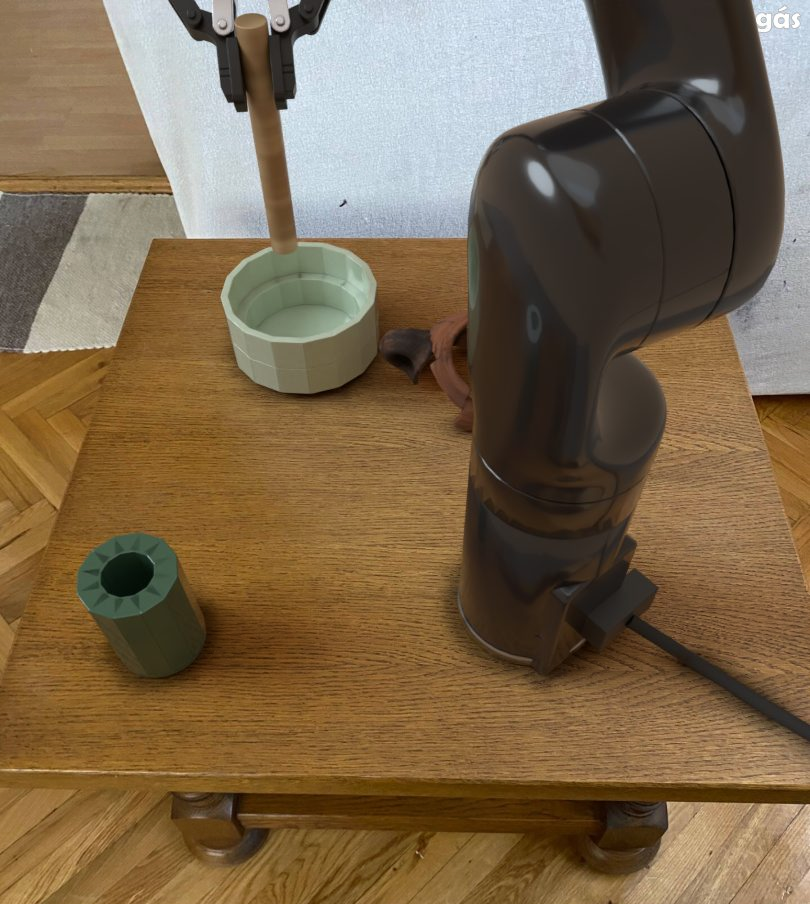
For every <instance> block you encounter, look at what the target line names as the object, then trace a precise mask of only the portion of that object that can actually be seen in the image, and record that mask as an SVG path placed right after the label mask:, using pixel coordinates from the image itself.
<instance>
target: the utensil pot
mask: <svg viewBox="0 0 810 904" xmlns="http://www.w3.org/2000/svg"><path fill="white" fill-rule="evenodd" d="M76 596H77V597H78V599H79V601H80V602H81V603H82V605H83V606H84V608H85V609H86V611H87V613H88V614H89V615H90V617H91V618H92V620H93V621H94V623H95V624H96V627H98V629H99V630H100V632H101V633H102V635H103V636H104V638H105V639H106V641H107V642H108V644H109V645H110V647H111V648H112V650H113V651H114V653H115V654H116V655H117V657H118V658H119V659H120V661H121V662H122V664H123V665H124V667H125V668H126V669H128V670H129V671H130V672H132V673H133V674H135V675H137V676H141V677H144V678H150V679H158V678H159V679H160V678H165V677H169V676H172V675H175V674H177V673H180V672H182V671H183V670H185V669H186V668H188V667H189V666H190V665H191V664H192V663H194V662H195V661H196V659H197V658H198V657H199V655H200V653H201V652H202V650H203V648H204V646H205V643H206V639H207V626H206V622H205V617H204V615H203V611H202V609H201V607H200V604H199V603H198V600H197V598H196V595H195V593H194V591H193V589H192V586H191V583H190V582H189V579H188V577H187V575H186V573H185V571H184V568H183V566H182V564H181V561H180V560H179V556H178V555H177V553H176V552H175V551H174V550H173V549H172V547H171V546H170V545H169V544H168V543H167V541H166V540H165V539H164V538H162V537H158V536H155V535H152V534H148V533H144V532H140V531H138V532H133V533H127V534H119V535H114V536H112V537H111V538H109V539H108V540H106V541H104V542H102V543H101V544H99V545H98V546H96V547H94V548H92V549H91V550H90V552H89V553H88V555H87V556H86V557H85V559H84V561H83V562H82V563H81V565H80V567H79V568H78V569H77V573H76Z"/></svg>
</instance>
